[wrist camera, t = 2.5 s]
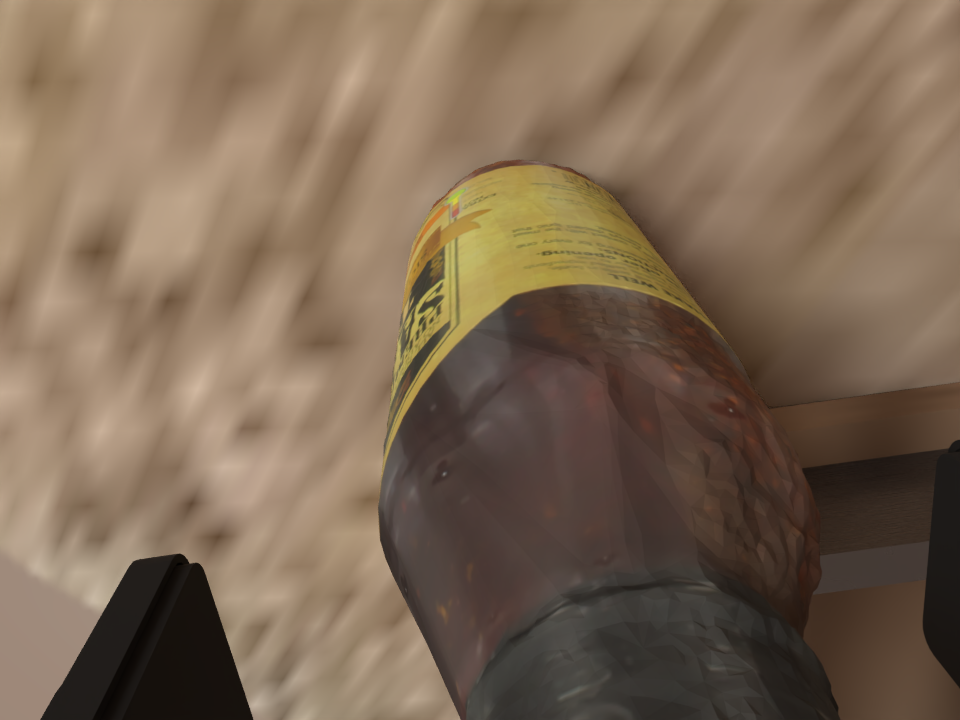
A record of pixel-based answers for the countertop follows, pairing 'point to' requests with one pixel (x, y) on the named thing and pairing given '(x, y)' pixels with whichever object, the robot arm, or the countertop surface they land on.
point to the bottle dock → (876, 546)
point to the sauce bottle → (588, 474)
